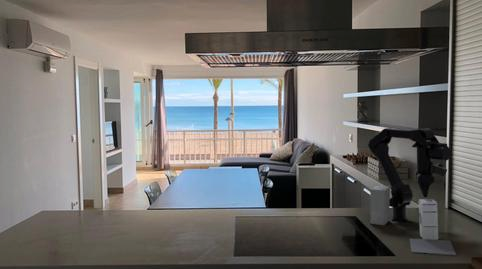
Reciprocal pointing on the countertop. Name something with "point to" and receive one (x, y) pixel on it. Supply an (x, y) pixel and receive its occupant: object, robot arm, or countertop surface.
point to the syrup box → (428, 219)
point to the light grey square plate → (432, 247)
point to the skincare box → (379, 204)
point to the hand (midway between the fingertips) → (424, 195)
